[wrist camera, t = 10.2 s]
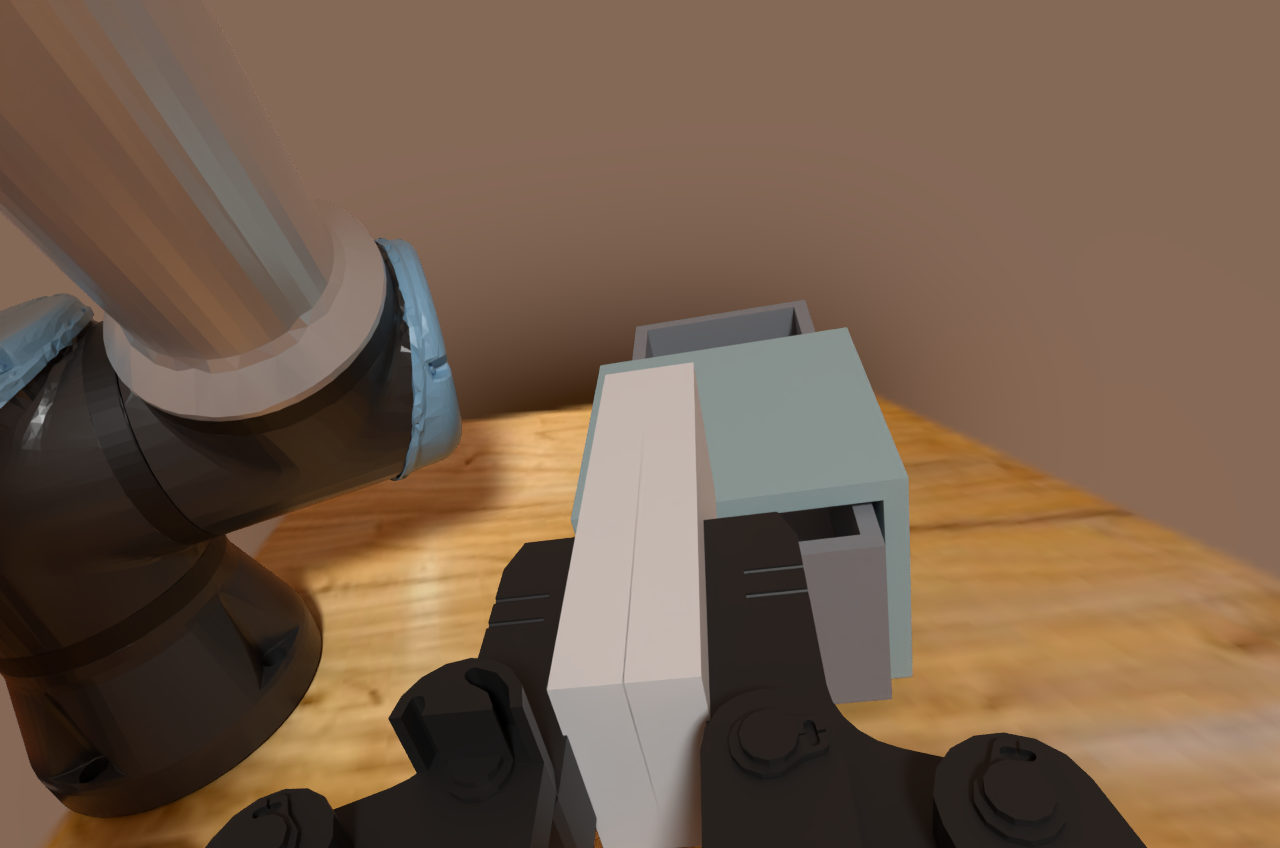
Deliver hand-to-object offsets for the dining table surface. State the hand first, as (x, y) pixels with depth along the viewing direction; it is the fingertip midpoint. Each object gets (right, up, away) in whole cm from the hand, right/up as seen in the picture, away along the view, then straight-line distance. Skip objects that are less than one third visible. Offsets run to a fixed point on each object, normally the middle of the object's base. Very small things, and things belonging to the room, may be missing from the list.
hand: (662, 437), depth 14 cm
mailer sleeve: (+6, -9, +31) cm, 33 cm away
